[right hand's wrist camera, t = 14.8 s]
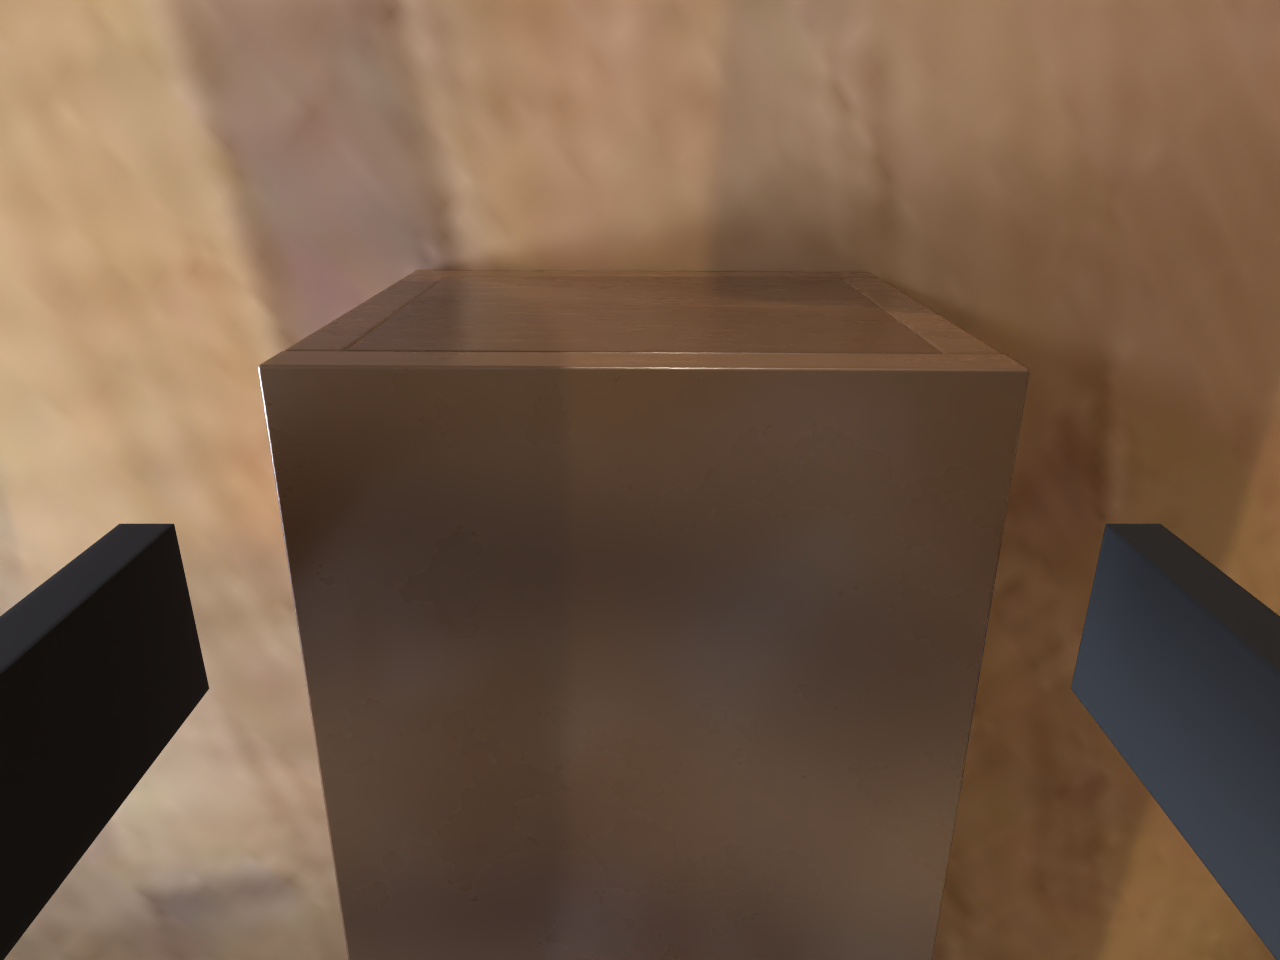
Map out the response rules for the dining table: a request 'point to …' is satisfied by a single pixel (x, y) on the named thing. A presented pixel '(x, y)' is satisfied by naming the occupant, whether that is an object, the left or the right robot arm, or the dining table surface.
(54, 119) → the dining table surface
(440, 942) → the cabinet
